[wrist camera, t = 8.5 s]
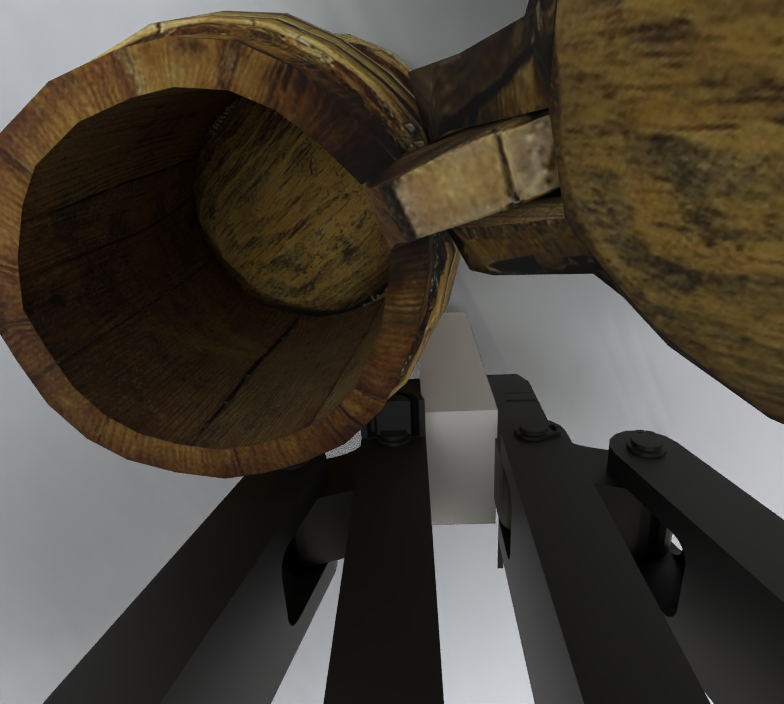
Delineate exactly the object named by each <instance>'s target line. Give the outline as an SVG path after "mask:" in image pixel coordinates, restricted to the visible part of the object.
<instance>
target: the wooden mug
mask: <svg viewBox="0 0 784 704" xmlns="http://www.w3.org/2000/svg"><path fill="white" fill-rule="evenodd" d="M460 254H461V255H462V257H463V258H464V260H465V262H466V264H467V265H468V267H469V269H470V270H472V271H477V272H481V273H486V274H490V275H534V274H594V275H596V276H597V277H598V278H600V279H601V280H602V281H603V282H605V283H606V284H607V285H608V286H610V287H611V288H612V289H614V290H615V291H616V292H617V293H619V294H620V295H621V296H622V297H624V298H625V299H626V301H627V302H628V303H629V304H630V305H631V306H632V307H633V308H634V309H635V310H636V311H637V312H638V314H639V315H640V316H641V317H642V318H643V319H644V320H645V321H646V322H647V323H648V324H649V325H650V327H651V328H652V329H653V330H654V331H655V332H656V333H657V334H658V335H659V336H660V337H661V338H662V340H663V341H664V342H665V343H666V344H667V345H668V346H669V347H671V348H672V349H673V350H675V351H676V352H678V353H679V354H680V355H682V356H683V357H685V358H686V359H687V360H689V361H690V362H692V363H693V364H694V365H696V366H697V367H699V368H700V369H701V370H703V371H704V372H706V373H707V374H708V375H710V376H711V377H713V378H714V379H715V380H717V381H718V382H720V383H721V384H722V385H724V386H725V387H727V388H728V389H729V390H731V391H732V392H734V393H735V394H736V395H738V396H739V397H741V398H742V399H743V400H745V401H746V402H748V403H749V404H750V405H752V406H753V407H755V408H756V409H757V410H759V411H760V412H762V413H763V414H764V415H766V416H767V417H769V418H770V419H773V420H775V421H777V422H780V423H782V424H784V0H529V2H528V6H527V9H526V12H525V16H524V17H522V18H520V19H518V20H517V21H515V22H513V23H511V24H510V25H508V26H506V27H505V28H503V29H501V30H499V31H498V32H496V33H494V34H492V35H491V36H489V37H487V38H486V39H484V40H482V41H480V42H479V43H477V44H475V45H473V46H472V47H470V48H468V49H466V50H465V51H463V52H461V53H460V54H457V55H454V56H451V57H449V58H446V59H443V60H440V61H438V62H435V63H432V64H429V65H426V66H424V67H421V68H418V69H415V70H411V69H410V68H409V67H408V66H407V65H406V64H404V63H403V62H402V61H401V60H400V59H399V58H398V57H397V56H396V55H395V54H394V53H392V52H390V51H387V50H385V49H383V48H380V47H378V46H376V45H373V44H371V43H368V42H366V41H364V40H361V39H359V38H357V37H354V36H352V35H350V34H332V33H330V32H328V31H325V30H323V29H321V28H319V27H317V26H314V25H312V24H310V23H308V22H305V21H303V20H301V19H299V18H297V17H294V16H292V15H290V14H288V13H266V12H241V11H221V12H215V13H210V14H204V15H198V16H192V17H187V18H181V19H175V20H169V21H164V22H158V23H152V24H149V25H148V26H146V27H145V28H143V29H141V30H140V31H138V32H137V33H135V34H133V35H132V36H130V37H129V38H127V39H125V40H124V41H122V42H121V43H119V44H117V45H116V46H114V47H112V48H111V49H109V50H108V51H106V52H104V53H103V54H101V55H100V56H98V57H96V58H95V59H93V60H92V61H90V62H88V63H86V64H84V65H82V66H80V67H78V68H76V69H74V70H72V71H70V72H68V73H65V74H63V75H61V76H59V77H57V78H55V79H53V80H51V81H49V82H48V83H47V84H46V85H45V86H44V87H43V88H42V89H41V90H40V91H39V92H38V93H37V95H36V96H35V97H34V98H33V99H32V100H31V101H30V102H29V103H28V104H27V105H26V106H25V107H24V108H23V109H22V110H21V111H20V113H19V114H18V115H17V116H16V117H15V118H14V119H13V120H12V121H11V122H10V123H9V124H8V125H7V126H6V127H5V128H4V130H3V131H2V132H1V133H0V335H1V336H2V338H3V339H4V341H5V343H6V344H7V346H8V347H9V349H10V351H11V352H12V354H13V355H14V357H15V359H16V360H17V362H18V363H19V364H20V366H21V367H22V369H23V370H24V371H25V373H26V374H27V376H28V377H29V378H30V380H31V381H32V383H33V384H34V385H35V387H36V388H37V390H38V391H39V392H40V394H41V395H42V397H43V398H44V399H45V401H46V402H47V404H48V405H49V406H51V407H52V408H53V409H54V410H55V411H56V412H57V413H59V414H60V415H61V416H62V417H63V418H64V419H65V420H66V421H68V422H69V423H70V424H71V425H72V426H73V427H74V428H76V429H77V430H78V431H79V432H80V433H81V434H82V435H84V436H85V437H86V438H87V439H89V440H91V441H93V442H95V443H97V444H99V445H100V446H102V447H104V448H106V449H108V450H110V451H112V452H114V453H116V454H118V455H120V456H122V457H124V458H125V459H127V460H131V461H135V462H139V463H142V464H146V465H150V466H154V467H158V468H162V469H165V470H169V471H173V472H178V473H186V474H194V475H201V476H209V477H217V478H225V479H226V478H233V477H240V476H246V475H253V474H260V473H266V472H270V471H274V470H277V469H281V468H285V467H288V466H292V465H296V464H299V463H303V462H306V461H308V460H310V459H312V458H314V457H317V456H319V455H321V454H323V453H326V452H328V451H330V450H332V449H334V448H337V447H339V446H341V445H343V444H345V443H346V442H347V441H349V440H350V439H351V438H352V437H353V436H354V435H355V434H356V433H357V432H358V431H359V430H360V429H362V428H363V427H364V426H365V425H366V424H367V423H368V422H369V421H370V420H371V419H372V418H373V417H375V416H376V415H377V414H378V413H379V412H380V411H381V410H382V409H383V407H384V405H385V403H386V401H387V400H388V399H389V398H390V397H391V396H392V395H393V394H394V393H395V392H397V391H398V390H399V389H400V388H401V387H402V386H403V385H404V384H406V383H407V381H408V379H409V377H410V375H411V373H412V371H413V368H414V366H415V364H416V363H417V361H418V359H419V357H420V355H421V353H422V351H423V349H424V348H425V346H426V344H427V342H428V340H429V338H430V336H431V334H432V333H433V331H434V329H435V327H436V325H437V323H438V321H439V320H440V318H441V316H442V314H443V312H444V310H445V308H446V306H447V305H448V302H449V299H450V295H451V291H452V287H453V283H454V279H455V275H456V271H457V267H458V262H459V258H460Z"/></svg>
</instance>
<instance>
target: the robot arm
mask: <svg viewBox="0 0 784 704" xmlns="http://www.w3.org/2000/svg"><path fill="white" fill-rule="evenodd" d="M418 361H419V379H408V381H407V383H406V384H404V385H403V386H402V387H401V388H400V389H399V390H398V391H397V392H395V393H394V394H393V395H392V396H391V397H390V398H389V399H388V400H387V401H386V403H385V405H384V407H383V409H382V410H381V411H380V412H379V413H378V414H377V415H376V416H375V417H373V418H372V419H371V420H370V421H369V422H368V423H367V424H366V425H365V426H364V427H363V428H362V429H361V436H362V440H361V446H360V447H359V448H357V449H356V450H354V451H352V452H350V453H348V454H344V455H341V456H337V457H333V458H328V459H326V455H325V453H323V454H321V455H319V456H317V457H314V458H312V459H310V460H308V461H306V462H303V463H299V464H296V465H292V466H288V467H285V468H281V469H277V470H274V471H270V472H266V473H260V474H253V475H246V476H244V477H243V478H242V479H241V480H240V481H239V483H238V484H237V485H236V486H235V487H234V488H233V489H232V490H231V492H230V493H229V494H228V495H227V496H226V497H225V498H224V499H223V501H222V502H221V503H220V504H219V505H218V506H217V507H216V509H215V510H214V511H213V512H212V513H211V514H210V515H209V516H208V518H207V519H206V520H205V521H204V522H203V523H202V524H201V525H200V527H199V528H198V529H197V530H196V531H195V532H194V533H193V534H192V536H191V537H190V538H189V539H188V540H187V541H186V542H185V543H184V545H183V546H182V547H181V548H180V549H179V550H178V551H177V553H176V554H175V555H174V556H173V557H172V558H171V559H170V560H169V562H168V563H167V564H166V565H165V566H164V567H163V568H162V569H161V571H160V572H159V573H158V574H157V575H156V576H155V577H154V578H153V580H152V581H151V582H150V583H149V584H148V585H147V586H146V588H145V589H144V590H143V591H142V592H141V593H140V594H139V595H138V597H137V598H136V599H135V600H134V601H133V602H132V603H131V604H130V606H129V607H128V608H127V609H126V610H125V611H124V612H123V613H122V615H121V616H120V617H119V618H118V619H117V620H116V621H115V623H114V624H113V625H112V626H111V627H110V628H109V629H108V630H107V632H106V633H105V634H104V635H103V636H102V637H101V638H100V639H99V641H98V642H97V643H96V644H95V645H94V646H93V647H92V648H91V650H90V651H89V652H88V653H87V654H86V655H85V656H84V658H83V659H82V660H81V661H80V662H79V663H78V664H77V665H76V667H75V668H74V669H73V670H72V671H71V672H70V673H69V674H68V676H67V677H66V678H65V679H64V680H63V681H62V682H61V683H60V685H59V686H58V687H57V688H56V689H55V690H54V691H53V693H52V694H51V695H50V696H49V697H48V698H47V699H46V700H45V702H44V703H43V704H271V702H272V700H273V698H274V696H275V694H276V692H277V690H278V688H279V686H280V684H281V682H282V680H283V678H284V676H285V674H286V672H287V670H288V667H289V665H290V663H291V661H292V659H293V657H294V655H295V653H296V651H297V649H298V647H299V645H300V643H301V641H302V639H303V637H304V635H305V633H306V631H307V629H308V627H309V625H310V623H311V621H312V619H313V617H314V614H315V612H316V610H317V608H318V606H319V604H320V602H321V600H322V598H323V596H324V594H325V592H326V590H327V588H328V586H329V584H330V582H331V580H332V578H333V576H334V574H335V571H336V567H337V560H339V559H342V558H344V565H343V572H342V579H341V586H340V593H339V600H338V607H337V614H336V621H335V627H334V634H333V641H332V648H331V655H330V662H329V669H328V676H327V683H326V690H325V697H324V704H444V698H443V684H442V669H441V654H440V639H439V624H438V609H437V595H436V580H435V565H434V550H433V535H432V525H448V524H489V523H495V516H496V508H497V512H498V516H499V529H498V568H503V563H504V567H505V571H506V576H507V580H508V585H509V589H510V594H511V598H512V603H513V607H514V612H515V616H516V621H517V625H518V630H519V634H520V639H521V643H522V648H523V652H524V657H525V661H526V666H527V670H528V675H529V679H530V684H531V688H532V693H533V697H534V702H535V704H710V702H709V700H708V698H707V696H706V694H707V695H708V697H709V698H710V699H711V700H712V702H713V703H714V704H784V520H783V519H782V518H780V517H779V516H778V515H776V514H775V513H773V512H772V511H771V510H769V509H768V508H767V507H765V506H764V505H762V504H761V503H760V502H758V501H757V500H756V499H754V498H753V497H751V496H750V495H749V494H747V493H746V492H745V491H743V490H742V489H740V488H739V487H738V486H736V485H735V484H734V483H732V482H731V481H729V480H728V479H727V478H725V477H724V476H722V475H721V474H720V473H718V472H717V471H716V470H714V469H713V468H711V467H710V466H709V465H707V464H706V463H705V462H703V461H702V460H700V459H699V458H698V457H696V456H695V455H694V454H692V453H691V452H689V451H688V450H687V449H685V448H684V447H683V446H681V445H680V444H678V443H677V442H675V441H673V440H672V439H670V438H668V437H666V436H663V435H660V434H656V433H654V432H651V431H644V430H635V431H624V432H621V433H618V434H615V435H614V436H613V437H612V438H611V439H610V443H609V450H605V449H598V448H591V447H585V446H580V445H577V444H574V443H572V442H571V440H570V438H569V436H568V434H567V432H566V431H565V430H564V429H563V428H562V427H561V426H560V425H558V424H556V423H554V422H552V421H549V420H547V418H546V416H545V414H544V412H543V410H542V408H541V405H540V403H539V401H537V397H536V395H535V393H534V391H533V389H532V387H531V385H530V383H529V382H528V381H527V380H525V379H524V378H522V377H521V376H519V375H518V374H504V375H486V373H485V370H484V367H483V364H482V361H481V358H480V355H479V352H478V348H477V345H476V342H475V339H474V336H473V333H472V330H471V327H470V324H469V321H468V318H467V315H466V312H447V313H443V314H442V316H441V318H440V320H439V321H438V323H437V325H436V327H435V329H434V331H433V333H432V334H431V336H430V338H429V340H428V342H427V344H426V346H425V348H424V349H423V351H422V353H421V355H420V357H419V359H418ZM672 533H673V534H674V535H675V537H676V538H677V539H678V540H679V542H680V544H681V546H682V548H683V550H682V551H681V550H680V549H678V548H677V547H676V546H675V545H674V544H673V543H672V542H671V538H672ZM705 693H706V694H705Z"/></svg>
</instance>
